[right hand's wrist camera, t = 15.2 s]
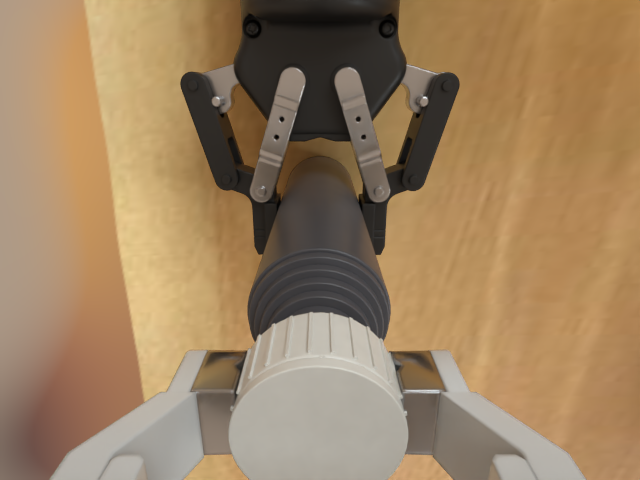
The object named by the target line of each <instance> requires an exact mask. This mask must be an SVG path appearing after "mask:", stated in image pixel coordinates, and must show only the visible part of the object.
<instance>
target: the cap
mask: <svg viewBox="0 0 640 480" xmlns="http://www.w3.org/2000/svg"><path fill="white" fill-rule="evenodd" d="M396 374H397V373H396V369H395V366H394V363H393V359H392V355H391V352H390V353H388V351H387V349H386V348H385V346H384V343H383V340H382V338H380V339H379V338H378V337H377V336H376V335H375V334H374V333H373V332H372V331H371V330H370V328H369V327H368V326H367V327H365V326H364V325H362V324H360V323H359V322H357V321H355V320H353V318H351V317H349V318H348V317H344V316H341V315H337V314H333V313H331V312H330V313H324V312H319V313H313V312H309V313H306V314H301V315H296V316H293V315H292V316H290V317H289V318H286V319H285V320H283V321H280V322H278V323H277V324H275V323H274V324H272V326H271V327H270V328H269V329H268V330H267V331H265V332H264V333H263V334H262V335H260V334H259V335H258V336H257V340H256V342H255V343H254V345H253V346H252V348H251V349H250V348H249V349H248V351H247V354H246V358H245V362H244V365H243V369H242V373H241V376H240V380H239V384H238V387H237V391H236V394H237V397H236V401H235V404H234V407H233V406H231V408H230V411H233V412H232V415H231V419H230V422H229V430H228V439H229V445H230V450H231V453H232V455H233V458H234V460H235V462H236V464H237V465H238V467H239V468H240V470H241V471H242V472H243V473H244V475H245V476H246V477H247V478H248V479H249V480H387V479H388V478H389V477H390V476H391V475H392V474H393V473H394V472H395V471H396V469H397V468H398V466H399V465H400V463H401V461H402V459H403V457H404V454H405V452H406V449H407V443H408V426H407V420H406V416H407V411H404V409H403V405H402V402H401V399H402V398H403V396H402V393H401V390H400V386H399V382H398V378H397V375H396Z"/></svg>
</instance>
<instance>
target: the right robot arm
mask: <svg viewBox="0 0 640 480" xmlns="http://www.w3.org/2000/svg"><path fill="white" fill-rule="evenodd" d="M390 352H391V355H392V359H393V363H394V366H395V369H396V373H397V374H396V375H397V378H398V382H399V386H400V390H401V393H402V396H403V398H402V399H401V402H402V405H403V409H404V411H407V416H406V420H407V426H408V443H407V449H406V452H405V454H416V455H433V458H434V459H435V460H436V461H437V462H438V463H439V464H440V465H441V466H442V467H443V469H444V470H445V471H446V472H447V473H448V474H449V475H450V476H451V477H452V478H453V480H586V478H585V477H584V475H583V474H582V472H581V471H580V469H579V468H578V466H577V465H576V463H575V462H574V460H573V459H572V457H571V456H570V455H569V453H568V452H566V451H565V450H563V449H562V448H560V447H558V446H557V445H555V444H554V443H552V442H551V441H549V440H548V439H546V438H545V437H543V436H542V435H540V434H539V433H537V432H536V431H534V430H533V429H531V428H530V427H528V426H527V425H525V424H524V423H522V422H521V421H519V420H518V419H516V418H515V417H513V416H512V415H510V414H509V413H507V412H506V411H504V410H503V409H501V408H500V407H498V406H497V405H495V404H493V403H492V402H490V401H489V400H487V399H486V398H484V397H483V396H481V395H480V394H478V393H477V392H470V390H469V388H468V386H467V384H466V382H465V380H464V378H463V376H462V374H461V372H460V370H459V368H458V366H457V364H456V362H455V360H454V358H453V356H452V354H451V352H450V351H449V350H428V351H389V353H390ZM246 354H247V351H235V350H189V351H187V352H186V354H185V356H184V358H183V360H182V362H181V364H180V366H179V368H178V370H177V372H176V374H175V376H174V378H173V380H172V382H171V384H170V385H169V387H168V389H167V391H166V392H160V393H158V394H157V395H155V396H154V397H152V398H151V399H149V400H148V401H146V402H144V403H143V404H141V405H140V406H138V407H137V408H135V409H134V410H132V411H131V412H129V413H128V414H126V415H125V416H123V417H122V418H120V419H119V420H117V421H115V422H114V423H112V424H111V425H109V426H108V427H106V428H105V429H103V430H102V431H100V432H99V433H97V434H96V435H94V436H92V437H91V438H89V439H88V440H86V441H85V442H83V443H82V444H80V445H79V446H77V447H76V448H74V449H73V450H71V451H70V452H68V453H67V455H66V456H65V458H64V459H63V460H62V462H61V463H60V465H59V466H58V468H57V469H56V471H55V472H54V474H53V475H52V476H51V478H50V479H49V480H183V479H184V478H185V477H186V476H187V475H188V474H189V473H190V472H191V471H192V470H193V469H194V467H195V466H196V465H197V464H198V463H199V462H200V461H201V460H202V459H203V458H204V455H220V454H232V453H231V450H230V445H229V439H228V430H229V422H230V419H231V415H232V412H233V411H230V408H231V406H233V407H234V404H235V401H236V397H237V394H236V391H237V387H238V384H239V380H240V376H241V373H242V369H243V365H244V362H245V358H246Z"/></svg>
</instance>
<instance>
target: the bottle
mask: <svg viewBox="0 0 640 480" xmlns="http://www.w3.org/2000/svg"><path fill="white" fill-rule="evenodd" d="M309 312H313V313H319V312H324V313H330V312H331V313H333V314H337V315H341V316H344V317H348V318H349V317H351V318H353V320H355V321H357V322H359V323H360V324H362V325H364V326H365V327H367V326H368V327H369V328H370V330H371V331H372V332H373V333H374V334H375V335H376V336H377V337H378V338H379V339H380V338H382V340H383V341H384V339H385V337H386V334H387V330H388V325H389V321H390V313H391V311H390V300H389V295H388V292H387V289H386V286H385V283H384V280H383V277H382V274H381V270H380V267H379V264H378V261H377V258H376V255H375V252H374V249H373V246H372V243H371V239H370V236H369V233H368V230H367V227H366V224H365V221H364V218H363V215H362V212H361V208H360V205H359V202H358V199H357V196H356V193H355V190H354V187H353V184H352V181H351V178H350V175H349V173H348V172H347V170H346V169H345V168H344V166H343V165H341V164H340V163H339V162H337V161H336V160H334V159H331V158H328V157H321V156H318V157H311V158H308V159H306V160H304V161H302V162H301V163H299V164H298V165H297V166H296V167H295V168H294V169H293V171H292V172H291V174H290V176H289V179H288V182H287V185H286V188H285V191H284V194H283V197H282V200H281V203H280V206H279V209H278V212H277V215H276V218H275V221H274V224H273V227H272V230H271V233H270V236H269V238H268V241H267V244H266V247H265V250H264V253H263V256H262V259H261V262H260V265H259V268H258V271H257V274H256V277H255V280H254V283H253V286H252V289H251V292H250V296H249V300H248V320H249V325H250V330H251V334H252V337H253V339H254V341H255V342H256V340H257V336H258V335H259V334H260V335H262V334H263V333H264V332H265V331H267V330H268V329H269V328H270V327H271V326H272V324H274V323H275V324H277V323H278V322H280V321H283V320H285V319H286V318H289V317H290V316H292V315H293V316H296V315H301V314H306V313H309Z"/></svg>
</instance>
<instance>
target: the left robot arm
mask: <svg viewBox="0 0 640 480" xmlns="http://www.w3.org/2000/svg"><path fill="white" fill-rule="evenodd" d="M240 2H241V19H242V38H241V43H240V46H239V49H238V51H237V53H236V55H235V58H234V64H232V65H228V66H225V67H222V68H218V69H215V70H212V71H208V72H205V73H199V72H188V73H186V74H184V75H183V77H182V79H181V89H182V92H183V94H184V97H185V100H186V103H187V105H188V108H189V111H190V114H191V116H192V119H193V122H194V125H195V127H196V130H197V133H198V136H199V138H200V141H201V144H202V146H203V149H204V152H205V155H206V157H207V160H208V163H209V166H210V168H211V171H212V174H213V177H214V179H215V182H216V184H217V186H218V187H219V188H221V189H223V190H234V191H237V192H240V193H242V194H244V195H246V196H247V197H248V198H249V199H250V200H251V203H252V209H253V226H254V243H255V248H256V250H257V252H258V254H263V253H264V250H265V247H266V244H267V241H268V238H269V236H270V233H271V230H272V227H273V224H274V221H275V218H276V215H277V212H278V209H279V206H280V203H281V195H280V194H277V190H276V185H277V182H278V179H279V175H280V172H281V169H282V166H283V162H284V159H285V156H286V153H287V150H288V147H289V144H290V141H308V140H311V139H315V138H319V137H322V138H325V139H329V140H333V141H350V143H351V146H352V149H353V152H354V155H355V158H356V162H357V165H358V168H359V171H360V175H361V178H362V181H363V194H359V205H360V208H361V212H362V215H363V218H364V221H365V224H366V227H367V230H368V233H369V236H370V239H371V243H372V246H373V249H374V252H375V255H381V253H382V251H383V249H384V247H385V229H386V212H387V203H388V201H389V199H390V198H391V197H392V196H394V195H395V194H398V193H400V192H403V191H406V190H409V191H416V190H419V189H420V188H421V187H422V186H423V185H424V183H425V180H426V177H427V174H428V172H429V169H430V166H431V163H432V161H433V158H434V155H435V153H436V150H437V147H438V144H439V142H440V139H441V136H442V133H443V131H444V128H445V125H446V122H447V120H448V117H449V114H450V111H451V109H452V106H453V103H454V100H455V98H456V95H457V92H458V89H459V79H458V78H457V76H456V75H455V74H453V73H449V72H440V73H435V72H432V71H429V70H425V69H422V68H419V67H415V66H412V65H409V64H407V62H406V58H405V55H404V53H403V51H402V48H401V46H400V42H399V37H398V20H399V4H400V0H240ZM239 84H240V85H241V86H242V87H243V89H244V90H245V91H246V93H247V94H248V95H249V97H250V98H251V99H252V101H253V102H254V103H255V105H256V106H257V108H258V109H259V110H260V112H261V113H262V114H263V116H264V117H265V118H266V120H267V121H268V124H267V127H266V131H265V134H264V138H263V141H262V145H261V148H260V152H259V159H258V162H257V166H256V169H255V168H252V167H249V166H247V165H244V163H243V160H242V157H241V154H240V151H239V148H238V145H237V142H236V139H235V136H234V133H233V130H232V127H231V124H230V121H229V118H228V115H227V112H228V111H230V110H231V109H232V108H233V107H234V103H235V99H234V91H235V88H236V87H237V86H238V85H239ZM400 84H401V85H402V86H403V87H404V88H405V90H406V106H407V108H408V109H409V110H410V111H412V112H414V113H413V116H412V119H411V122H410V125H409V128H408V131H407V134H406V137H405V140H404V143H403V146H402V149H401V151H400V154H399V157H398V160H397V163H396V165H394V166H391V167H388V168H385V169H384V165H383V162H382V158H381V152H380V148H379V144H378V141H377V137H376V134H375V130H374V127H373V123H372V121H373V120H374V118H375V117H376V116H377V114H378V113H379V112H380V110H381V109H382V108H383V106H384V105H385V104H386V102H387V101H388V100H389V98H390V97H391V96H392V94H393V93H394V92H395V90H396V89H397V88H398V86H399V85H400Z"/></svg>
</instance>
